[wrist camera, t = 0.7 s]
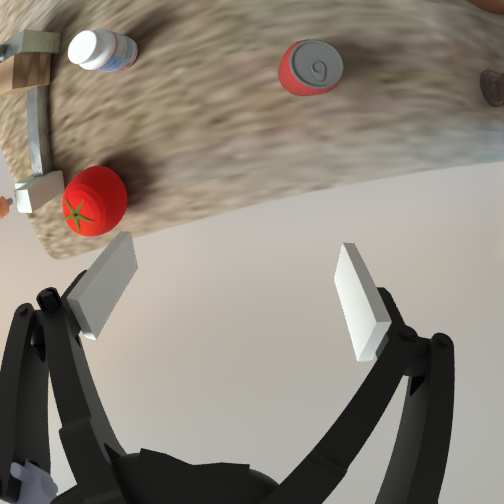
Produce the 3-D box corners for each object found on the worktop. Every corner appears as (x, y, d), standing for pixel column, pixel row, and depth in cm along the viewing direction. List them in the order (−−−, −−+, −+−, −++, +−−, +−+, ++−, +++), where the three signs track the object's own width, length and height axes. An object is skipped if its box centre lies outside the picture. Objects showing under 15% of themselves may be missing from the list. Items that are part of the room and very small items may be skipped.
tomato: (129, 155, 38) (94, 173, 29) (141, 214, 44) (113, 246, 35) (80, 165, 39) (42, 186, 30) (94, 219, 45) (62, 248, 35)
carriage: (32, 62, 27) (-3, 65, 19) (51, 54, 27) (15, 54, 19) (31, 91, 30) (-5, 97, 22) (49, 84, 30) (12, 88, 22)
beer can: (284, 99, 34) (292, 98, 24) (272, 58, 31) (276, 39, 20) (328, 92, 33) (355, 90, 23) (318, 51, 30) (340, 32, 19)
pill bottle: (104, 74, 31) (61, 73, 22) (108, 40, 28) (66, 31, 18) (137, 70, 31) (97, 64, 22) (141, 34, 28) (104, 20, 18)
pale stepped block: (34, 173, 39) (1, 192, 31) (62, 170, 39) (27, 189, 31) (37, 191, 42) (5, 212, 33) (65, 190, 42) (32, 212, 33)
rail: (33, 46, 25) (-15, 47, 14) (61, 33, 25) (11, 28, 14) (35, 173, 39) (-9, 198, 28) (61, 170, 39) (14, 196, 28)
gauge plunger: (4, 192, 31) (-14, 204, 27) (13, 191, 31) (-5, 203, 27) (8, 209, 33) (-10, 222, 29) (17, 209, 33) (-1, 222, 29)
